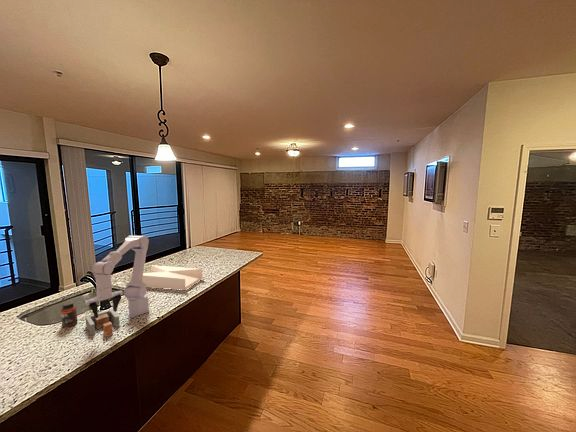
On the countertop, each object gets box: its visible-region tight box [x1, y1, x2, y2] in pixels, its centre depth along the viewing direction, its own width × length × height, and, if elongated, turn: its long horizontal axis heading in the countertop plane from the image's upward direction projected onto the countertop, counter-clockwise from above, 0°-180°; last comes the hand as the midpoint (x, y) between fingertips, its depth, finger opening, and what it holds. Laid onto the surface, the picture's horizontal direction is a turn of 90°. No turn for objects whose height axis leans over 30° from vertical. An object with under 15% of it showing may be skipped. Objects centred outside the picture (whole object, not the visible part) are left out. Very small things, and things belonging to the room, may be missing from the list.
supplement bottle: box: [60, 301, 78, 328], centre depth 126 cm, size 6×6×11 cm
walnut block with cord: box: [94, 313, 114, 337], centre depth 122 cm, size 5×16×5 cm, turn 49°
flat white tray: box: [128, 264, 203, 290], centre depth 184 cm, size 45×22×10 cm, turn 79°
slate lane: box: [85, 308, 120, 336], centre depth 125 cm, size 12×12×5 cm
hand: (105, 314), depth 117 cm, fingers open, 7 cm apart
